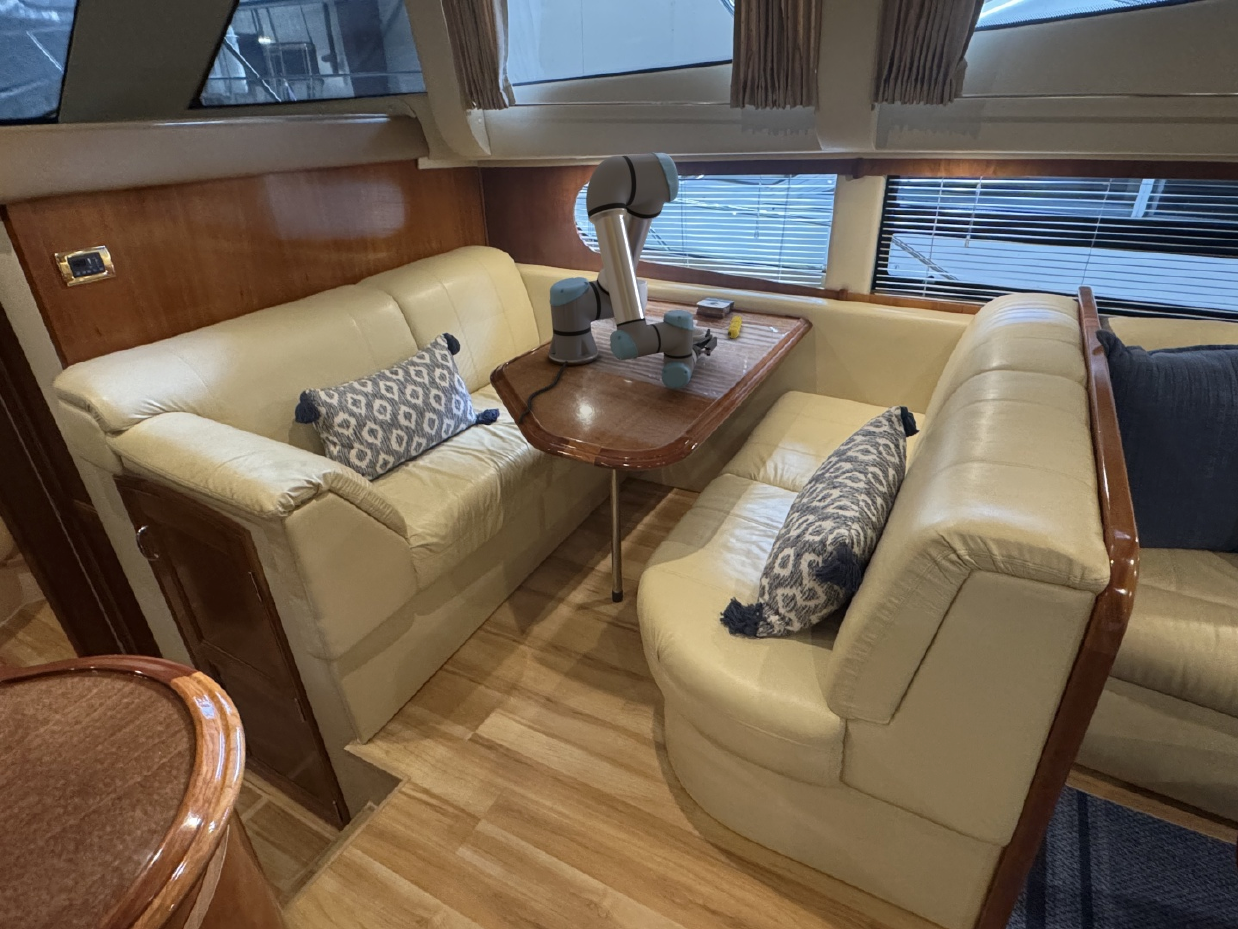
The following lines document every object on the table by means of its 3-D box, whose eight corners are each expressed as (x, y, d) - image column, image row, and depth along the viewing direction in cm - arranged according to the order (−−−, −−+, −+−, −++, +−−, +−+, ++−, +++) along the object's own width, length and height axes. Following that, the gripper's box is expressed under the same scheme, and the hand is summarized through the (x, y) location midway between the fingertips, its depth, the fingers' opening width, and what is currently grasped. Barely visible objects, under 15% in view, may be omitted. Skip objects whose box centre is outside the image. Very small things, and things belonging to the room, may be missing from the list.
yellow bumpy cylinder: (738, 339, 214) (738, 329, 212) (726, 339, 215) (727, 328, 213) (742, 324, 228) (742, 314, 227) (731, 324, 229) (732, 313, 227)
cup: (688, 349, 208) (690, 324, 204) (711, 353, 204) (713, 328, 200) (672, 359, 200) (674, 333, 196) (696, 363, 196) (698, 337, 192)
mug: (602, 319, 239) (600, 283, 232) (616, 311, 247) (615, 276, 241) (639, 324, 233) (638, 286, 226) (652, 315, 241) (652, 279, 235)
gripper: (646, 368, 188) (661, 342, 207) (720, 372, 183) (728, 345, 203) (646, 343, 184) (661, 319, 204) (721, 346, 180) (729, 321, 199)
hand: (694, 332), depth 203 cm, fingers closed on cup, 8 cm apart
